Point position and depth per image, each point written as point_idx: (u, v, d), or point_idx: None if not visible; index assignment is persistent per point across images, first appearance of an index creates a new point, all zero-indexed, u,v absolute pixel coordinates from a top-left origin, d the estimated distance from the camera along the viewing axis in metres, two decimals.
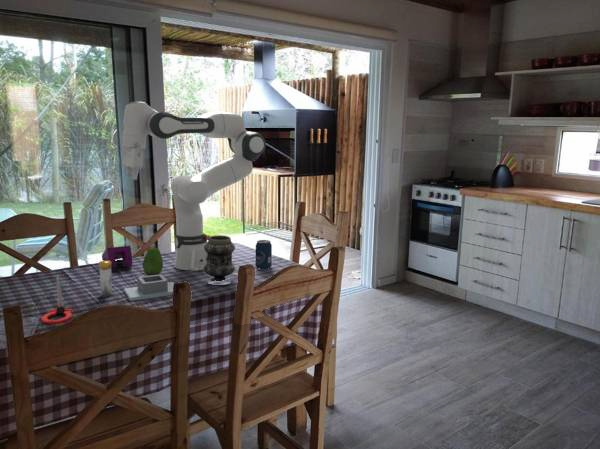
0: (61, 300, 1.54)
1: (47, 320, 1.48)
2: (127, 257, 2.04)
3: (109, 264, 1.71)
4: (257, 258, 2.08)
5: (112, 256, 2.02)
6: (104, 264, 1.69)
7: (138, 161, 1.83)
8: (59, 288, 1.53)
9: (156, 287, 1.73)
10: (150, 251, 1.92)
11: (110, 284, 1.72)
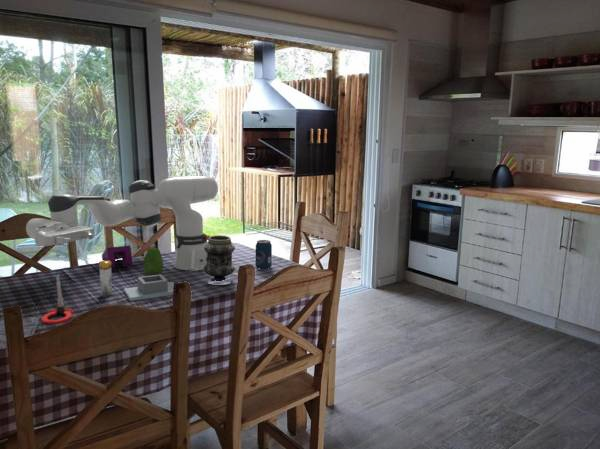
0: (61, 300, 1.54)
1: (47, 320, 1.48)
2: (127, 257, 2.04)
3: (109, 264, 1.71)
4: (257, 258, 2.08)
5: (112, 256, 2.02)
6: (104, 264, 1.69)
7: None
8: (59, 288, 1.53)
9: (156, 287, 1.73)
10: (150, 251, 1.92)
11: (110, 284, 1.72)
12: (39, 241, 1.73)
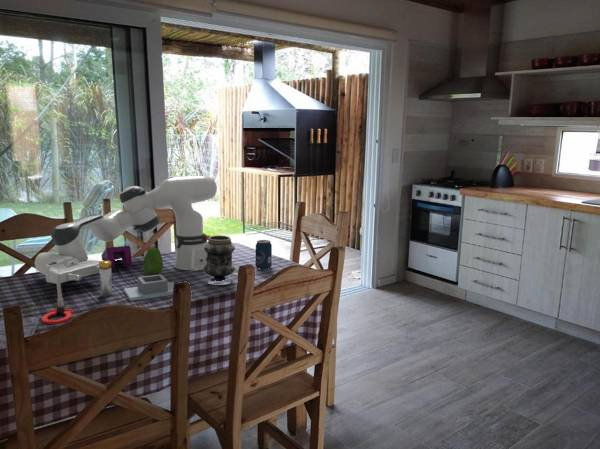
0: (61, 300, 1.54)
1: (47, 320, 1.48)
2: (127, 257, 2.04)
3: (109, 264, 1.71)
4: (257, 258, 2.08)
5: (112, 256, 2.02)
6: (104, 264, 1.69)
7: None
8: (59, 288, 1.53)
9: (156, 287, 1.73)
10: (150, 251, 1.92)
11: (110, 284, 1.72)
12: (51, 278, 1.71)
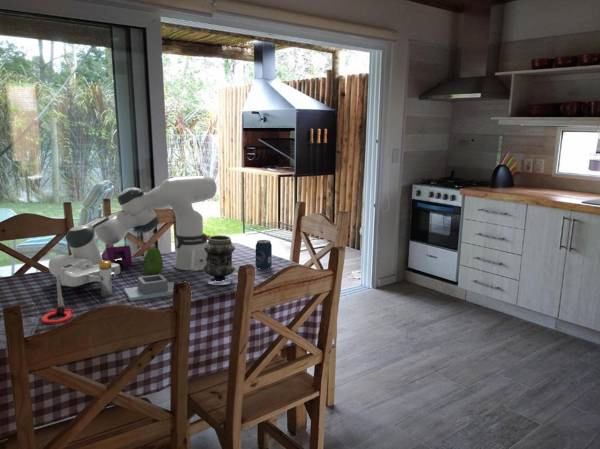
0: (61, 300, 1.54)
1: (47, 320, 1.48)
2: (127, 257, 2.05)
3: (109, 264, 1.71)
4: (257, 258, 2.08)
5: (112, 256, 2.02)
6: (104, 264, 1.69)
7: None
8: (59, 288, 1.53)
9: (156, 287, 1.73)
10: (150, 251, 1.92)
11: (110, 284, 1.72)
12: (66, 281, 1.68)
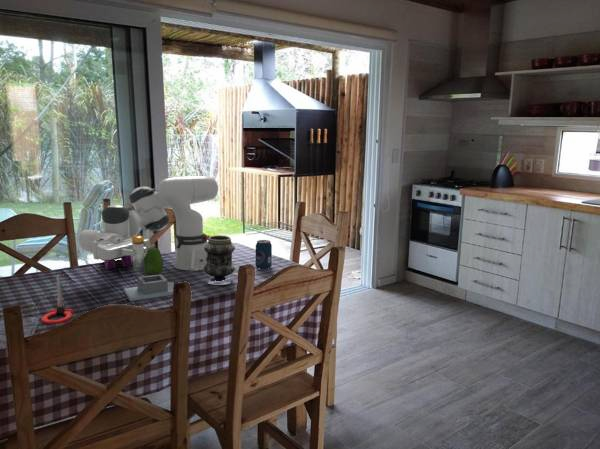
0: (61, 300, 1.54)
1: (47, 320, 1.48)
2: (126, 257, 2.04)
3: (142, 239, 1.71)
4: (257, 258, 2.08)
5: None
6: (137, 239, 1.70)
7: None
8: (59, 288, 1.53)
9: (156, 287, 1.73)
10: (150, 251, 1.92)
11: (142, 259, 1.72)
12: (99, 254, 1.68)
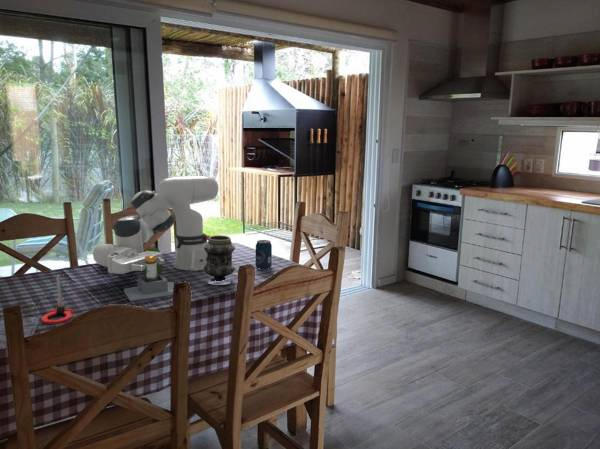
0: (61, 300, 1.54)
1: (47, 320, 1.48)
2: None
3: (155, 258, 1.74)
4: (257, 258, 2.08)
5: None
6: (150, 258, 1.73)
7: None
8: (59, 288, 1.53)
9: (156, 287, 1.73)
10: None
11: (156, 278, 1.75)
12: (114, 268, 1.70)
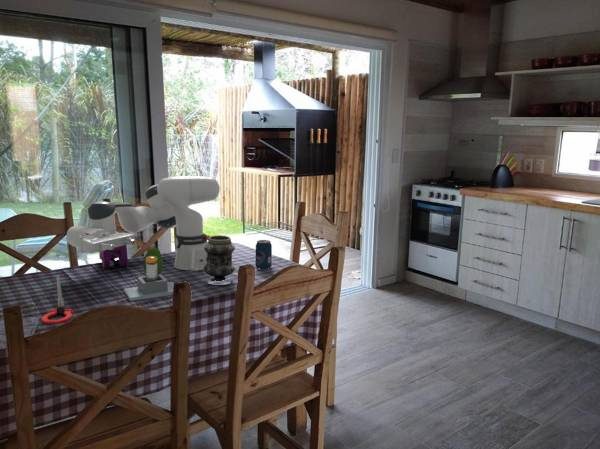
0: (61, 300, 1.54)
1: (47, 320, 1.48)
2: (122, 256, 2.06)
3: (155, 259, 1.73)
4: (257, 258, 2.08)
5: (107, 255, 2.03)
6: (151, 259, 1.72)
7: None
8: (59, 288, 1.53)
9: (156, 287, 1.73)
10: (150, 251, 1.92)
11: (156, 279, 1.75)
12: (84, 248, 1.75)
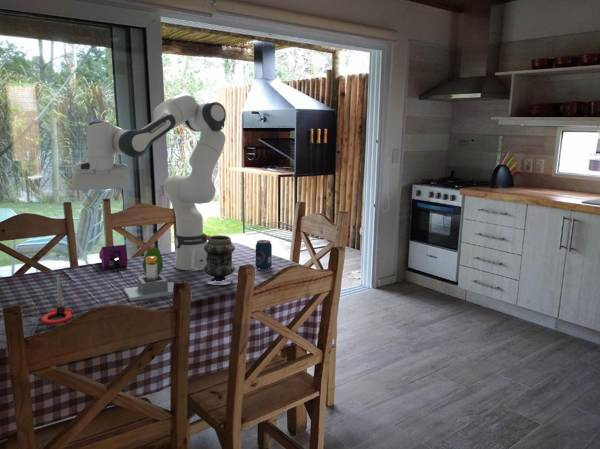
0: (61, 300, 1.54)
1: (47, 320, 1.48)
2: (122, 256, 2.06)
3: (155, 259, 1.73)
4: (257, 258, 2.08)
5: (107, 255, 2.03)
6: (151, 259, 1.72)
7: None
8: (59, 288, 1.53)
9: (156, 287, 1.73)
10: (150, 251, 1.92)
11: (156, 279, 1.75)
12: (73, 177, 1.78)
